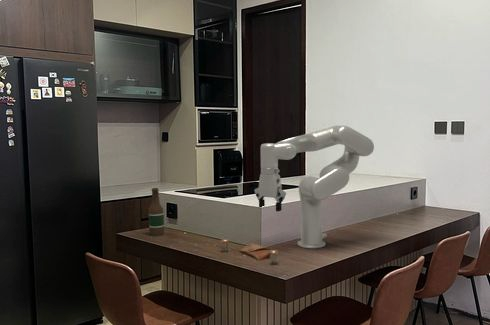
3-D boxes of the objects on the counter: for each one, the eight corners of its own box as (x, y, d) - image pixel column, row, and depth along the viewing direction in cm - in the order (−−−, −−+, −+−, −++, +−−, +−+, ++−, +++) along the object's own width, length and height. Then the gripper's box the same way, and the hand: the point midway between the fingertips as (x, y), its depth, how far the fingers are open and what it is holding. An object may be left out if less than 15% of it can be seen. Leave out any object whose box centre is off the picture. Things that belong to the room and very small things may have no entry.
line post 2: (273, 261, 196) (273, 249, 196) (279, 263, 194) (279, 250, 193) (268, 263, 194) (268, 251, 193) (274, 265, 192) (274, 252, 191)
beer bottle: (146, 234, 247) (144, 188, 245) (159, 231, 252) (157, 186, 250) (154, 237, 241) (152, 189, 239) (167, 234, 247) (165, 188, 244)
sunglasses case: (236, 251, 212) (242, 237, 214) (247, 256, 216) (253, 242, 217) (259, 261, 197) (266, 246, 199) (271, 266, 201) (277, 251, 202)
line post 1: (225, 249, 215) (224, 238, 215) (230, 251, 213) (229, 239, 213) (220, 251, 213) (219, 240, 212) (225, 252, 211) (224, 241, 210)
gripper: (290, 171, 208) (290, 210, 209) (260, 169, 219) (260, 206, 221) (279, 173, 202) (280, 213, 204) (249, 171, 214) (250, 208, 216)
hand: (270, 209), depth 213 cm, fingers open, 9 cm apart
